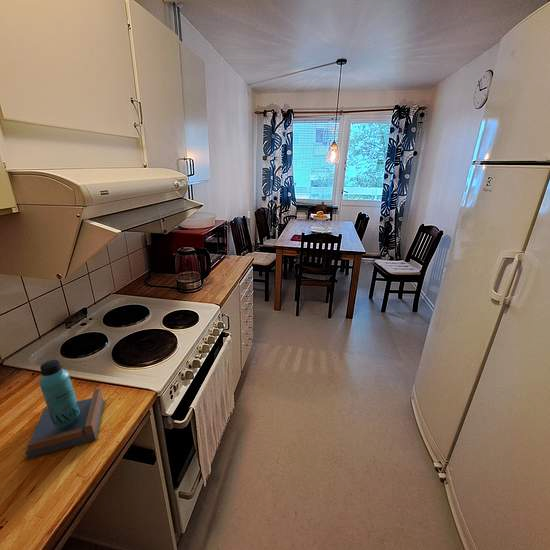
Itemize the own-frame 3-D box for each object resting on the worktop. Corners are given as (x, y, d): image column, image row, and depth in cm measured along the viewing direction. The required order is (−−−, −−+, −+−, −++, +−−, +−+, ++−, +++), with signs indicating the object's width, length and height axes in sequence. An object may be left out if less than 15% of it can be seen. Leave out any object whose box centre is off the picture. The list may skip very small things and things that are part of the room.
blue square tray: (28, 458, 72) (21, 443, 70) (46, 415, 84) (40, 401, 82) (96, 439, 77) (91, 425, 75) (103, 401, 89) (100, 388, 87)
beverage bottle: (48, 429, 77) (25, 370, 70) (70, 409, 83) (51, 353, 76) (68, 434, 76) (46, 375, 68) (88, 414, 82) (71, 357, 74)
